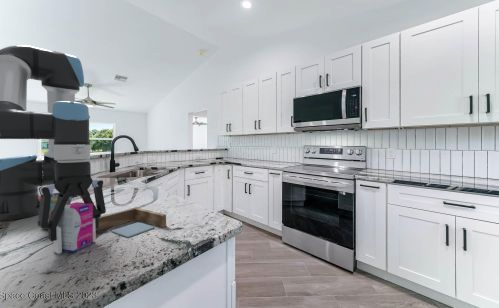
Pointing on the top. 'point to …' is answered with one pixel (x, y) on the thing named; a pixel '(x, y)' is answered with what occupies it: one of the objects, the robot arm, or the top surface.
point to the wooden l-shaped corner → (132, 218)
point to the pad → (132, 229)
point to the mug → (53, 202)
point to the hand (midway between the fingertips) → (75, 245)
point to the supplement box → (76, 226)
